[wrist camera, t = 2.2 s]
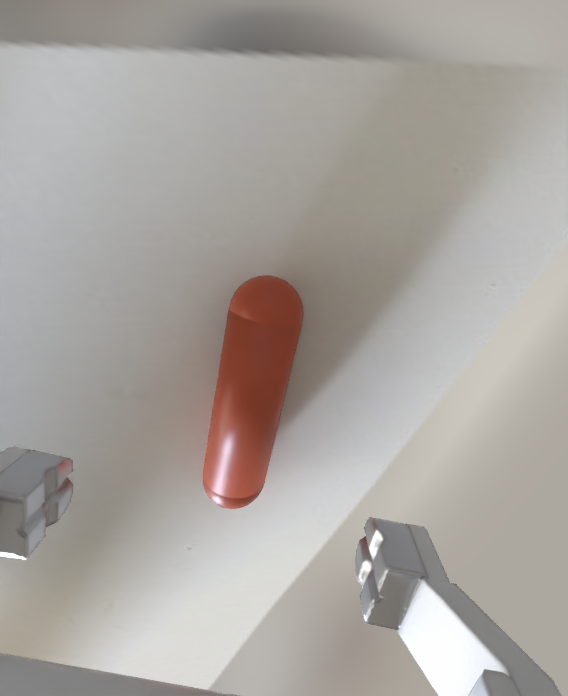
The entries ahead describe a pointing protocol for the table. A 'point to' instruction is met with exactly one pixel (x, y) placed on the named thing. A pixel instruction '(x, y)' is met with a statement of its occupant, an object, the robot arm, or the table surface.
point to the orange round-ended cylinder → (251, 388)
